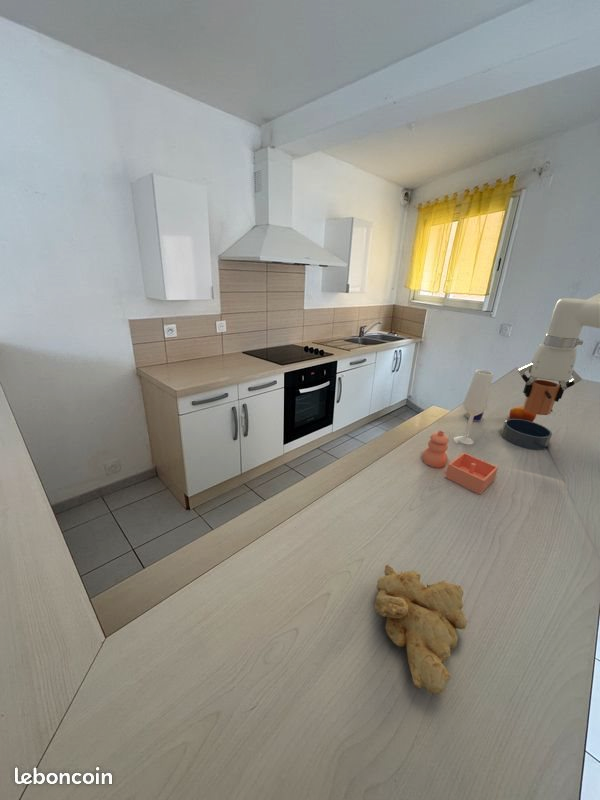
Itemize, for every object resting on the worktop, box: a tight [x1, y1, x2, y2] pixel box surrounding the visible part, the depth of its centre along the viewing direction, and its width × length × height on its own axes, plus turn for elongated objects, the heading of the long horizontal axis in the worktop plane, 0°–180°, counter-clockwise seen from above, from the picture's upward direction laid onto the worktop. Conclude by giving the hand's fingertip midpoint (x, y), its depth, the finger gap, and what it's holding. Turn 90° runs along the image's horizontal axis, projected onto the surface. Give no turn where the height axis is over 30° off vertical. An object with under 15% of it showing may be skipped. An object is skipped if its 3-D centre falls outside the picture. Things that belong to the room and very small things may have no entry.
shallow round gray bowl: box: [500, 418, 553, 451], centre depth 107 cm, size 13×13×5 cm
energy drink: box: [465, 411, 485, 423], centre depth 119 cm, size 5×5×12 cm
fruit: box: [508, 405, 537, 422], centre depth 119 cm, size 8×8×8 cm
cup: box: [523, 379, 560, 416], centre depth 100 cm, size 7×12×9 cm, turn 155°
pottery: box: [422, 430, 499, 495], centre depth 88 cm, size 18×10×10 cm, turn 42°
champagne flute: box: [453, 369, 494, 445], centre depth 101 cm, size 7×7×24 cm
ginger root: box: [374, 564, 467, 695], centre depth 49 cm, size 16×16×8 cm
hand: (540, 397), depth 102 cm, fingers closed on cup, 7 cm apart
